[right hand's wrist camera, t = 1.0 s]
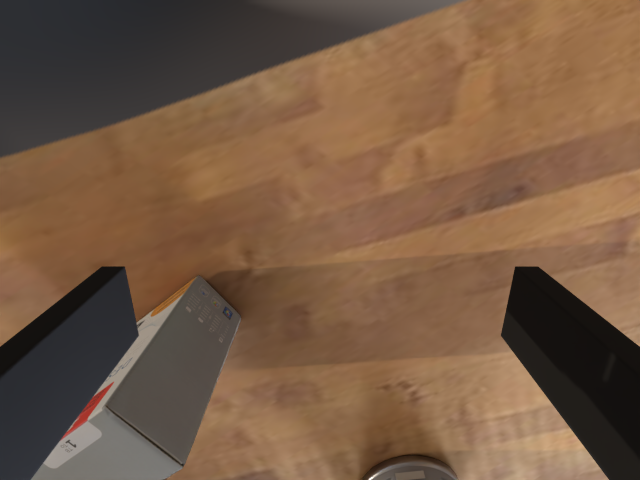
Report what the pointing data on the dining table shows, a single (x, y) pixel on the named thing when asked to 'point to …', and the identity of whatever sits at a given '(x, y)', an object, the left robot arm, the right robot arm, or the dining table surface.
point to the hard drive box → (151, 394)
